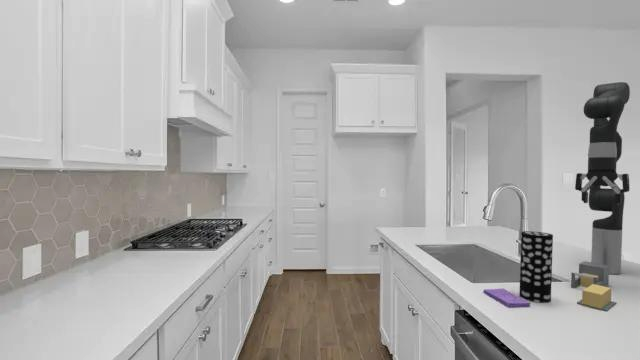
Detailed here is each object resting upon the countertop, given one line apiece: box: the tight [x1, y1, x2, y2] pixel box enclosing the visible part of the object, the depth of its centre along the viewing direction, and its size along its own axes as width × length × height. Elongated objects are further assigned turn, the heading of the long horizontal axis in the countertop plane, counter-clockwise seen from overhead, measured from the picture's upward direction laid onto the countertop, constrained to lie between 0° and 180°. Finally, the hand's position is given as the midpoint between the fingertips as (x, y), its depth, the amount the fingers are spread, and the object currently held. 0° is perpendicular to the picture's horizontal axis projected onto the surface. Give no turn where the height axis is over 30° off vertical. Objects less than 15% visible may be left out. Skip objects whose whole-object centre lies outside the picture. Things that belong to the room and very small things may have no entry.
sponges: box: [483, 288, 531, 309], centre depth 106 cm, size 7×13×2 cm, turn 6°
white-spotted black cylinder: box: [518, 230, 554, 303], centre depth 107 cm, size 8×8×20 cm
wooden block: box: [581, 284, 612, 308], centre depth 103 cm, size 10×4×4 cm, turn 128°
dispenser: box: [570, 260, 610, 289], centre depth 119 cm, size 14×7×7 cm, turn 127°
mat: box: [576, 299, 617, 312], centre depth 103 cm, size 10×7×1 cm
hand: (600, 203), depth 118 cm, fingers open, 8 cm apart
